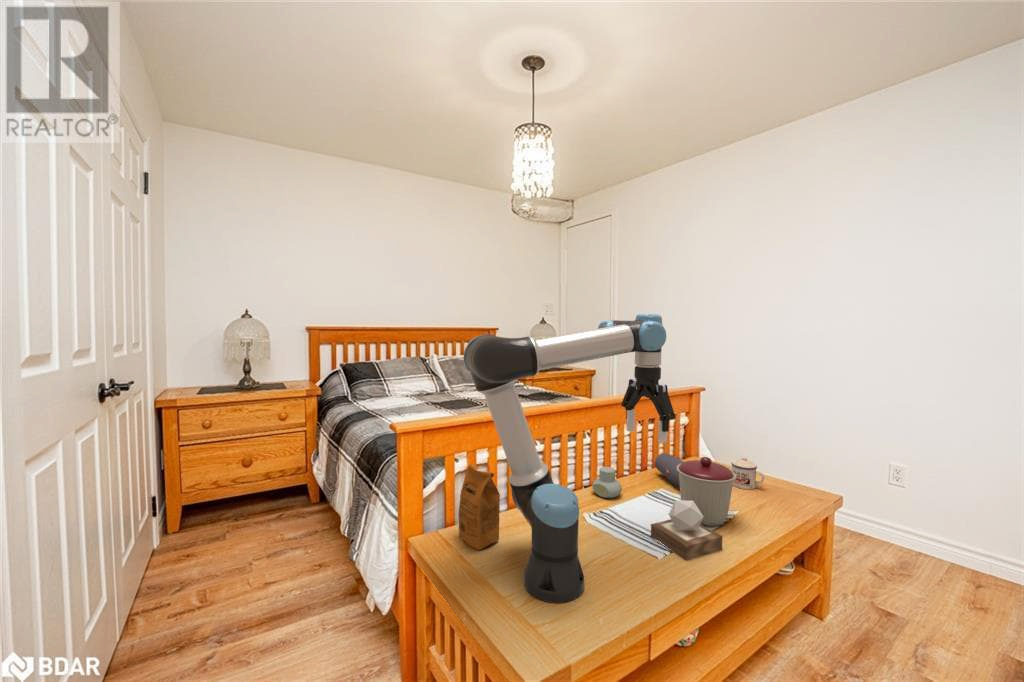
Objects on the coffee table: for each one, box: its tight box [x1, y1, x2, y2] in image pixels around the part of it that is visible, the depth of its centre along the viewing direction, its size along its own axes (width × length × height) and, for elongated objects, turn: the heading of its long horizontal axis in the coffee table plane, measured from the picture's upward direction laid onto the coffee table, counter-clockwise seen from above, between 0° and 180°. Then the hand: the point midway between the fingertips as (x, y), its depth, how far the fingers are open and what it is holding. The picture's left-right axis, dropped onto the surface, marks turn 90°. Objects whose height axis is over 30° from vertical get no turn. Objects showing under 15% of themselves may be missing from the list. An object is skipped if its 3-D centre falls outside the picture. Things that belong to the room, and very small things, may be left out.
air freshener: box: [591, 466, 623, 499], centre depth 162 cm, size 11×8×10 cm
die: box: [668, 499, 703, 531], centre depth 128 cm, size 8×9×10 cm
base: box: [650, 518, 723, 561], centre depth 128 cm, size 14×14×4 cm
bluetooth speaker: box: [654, 452, 684, 489], centre depth 173 cm, size 23×9×10 cm, turn 10°
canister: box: [677, 456, 736, 527], centre depth 143 cm, size 18×18×21 cm
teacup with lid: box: [731, 456, 765, 491], centre depth 171 cm, size 12×9×12 cm
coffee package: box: [457, 463, 501, 551], centre depth 129 cm, size 10×12×22 cm
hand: (645, 436), depth 128 cm, fingers open, 13 cm apart
